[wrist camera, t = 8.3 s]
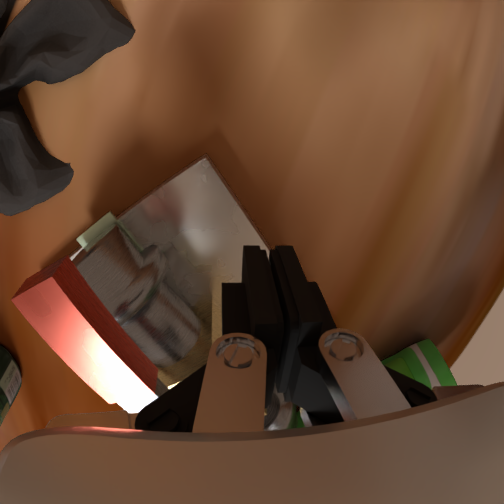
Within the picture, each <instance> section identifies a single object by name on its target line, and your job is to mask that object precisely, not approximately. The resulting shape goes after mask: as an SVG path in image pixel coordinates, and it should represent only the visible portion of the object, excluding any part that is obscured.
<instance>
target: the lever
mask: <svg viewBox="0 0 504 504" xmlns="http://www.w3.org/2000/svg"><path fill="white" fill-rule="evenodd" d="M11 300H12V302H13V303H14V304H15V306H16V307H17V308H18V309H19V311H20V312H21V313H22V314H23V316H24V317H25V318H26V319H27V320H28V322H29V323H30V324H31V325H32V326H33V328H34V329H35V330H36V331H37V332H38V333H39V335H40V336H41V337H42V338H43V339H44V340H45V341H46V342H47V343H48V345H49V346H50V347H51V348H52V349H53V350H54V351H55V352H56V353H57V354H58V355H59V356H60V357H61V358H62V359H63V360H64V361H65V363H66V364H67V365H68V366H69V367H70V368H71V369H72V370H73V371H74V372H75V373H77V374H78V375H79V376H80V377H81V378H82V379H83V380H84V381H85V382H86V383H87V384H88V385H89V386H90V387H91V388H92V389H93V390H95V391H96V392H97V393H98V394H99V395H100V396H101V397H102V398H103V399H105V400H106V401H107V402H108V403H109V404H111V403H116V402H117V403H118V404H119V405H120V406H121V407H122V408H124V409H125V410H127V411H128V413H138V412H139V411H140V410H141V409H142V408H144V407H145V406H146V405H147V404H149V403H150V402H152V401H153V400H155V399H156V398H158V397H159V396H161V395H162V394H164V393H165V392H167V391H168V390H169V388H168V387H167V386H166V385H165V384H164V383H163V382H162V381H161V380H160V379H159V378H158V377H157V376H158V368H157V367H156V366H155V365H154V364H153V363H152V362H151V361H150V360H149V358H148V357H147V356H146V355H145V354H144V353H143V352H142V351H141V349H140V348H139V347H138V346H137V345H136V344H135V343H134V341H133V340H132V339H131V338H130V337H129V335H128V334H127V333H126V332H125V331H124V329H123V328H122V327H121V326H120V325H119V323H118V322H117V321H116V320H115V318H114V317H113V316H112V315H111V313H110V312H109V311H108V310H107V308H106V307H105V306H104V305H103V303H102V302H101V301H100V299H99V298H98V297H97V295H96V294H95V293H94V291H93V290H92V289H91V287H90V286H89V285H88V283H87V282H86V281H85V279H84V278H83V276H82V275H81V274H80V272H79V271H78V269H77V268H76V267H75V265H74V264H73V262H72V261H71V259H70V258H69V256H68V255H67V256H65V257H63V258H61V259H60V260H58V261H56V262H54V263H53V264H51V265H49V266H47V267H46V268H44V269H42V270H41V271H39V272H37V273H36V274H34V275H32V276H31V277H29V278H27V279H26V280H25V282H24V283H23V284H22V286H21V287H20V288H19V290H18V291H17V292H16V294H15V295H14V296H13V298H12V299H11Z"/></svg>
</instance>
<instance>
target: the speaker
mask: <svg viewBox="0 0 504 504" xmlns="http://www.w3.org/2000/svg"><path fill="white" fill-rule="evenodd" d="M381 363H382V364H383V365H385V366H387V367H389V368H391V369H393V370H395V371H397V372H399V373H401V374H404V375H406V376H408V377H410V378H412V379H414V380H416V381H418V382H420V383H423V384H424V385H426V386H427V387H429V388H430V389H431V390H432V388H433V387H434V386H457V383H456V381H455V379H454V377H453V375H452V373H451V371H450V369H449V368H448V366H447V364H446V362H445V361H444V359H443V357H442V356H441V354H440V352H439V351H438V349H437V348H436V346H435V345H434V344H433V342H432V341H431V340H430V339H425V340H423V341H420V342H418V343H415V344H413V345H411V346H409V347H407V348H405V349H403V350H402V351H400V352H398V353H397V354H395V355H393V356H391V357H389V358H387V359H385V360H383V361H381ZM296 414H297V417H298V425H297V428H302V427H305V425H304V423H303V420H302V418H301V415H300V411H298V412H297V413H296Z"/></svg>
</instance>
